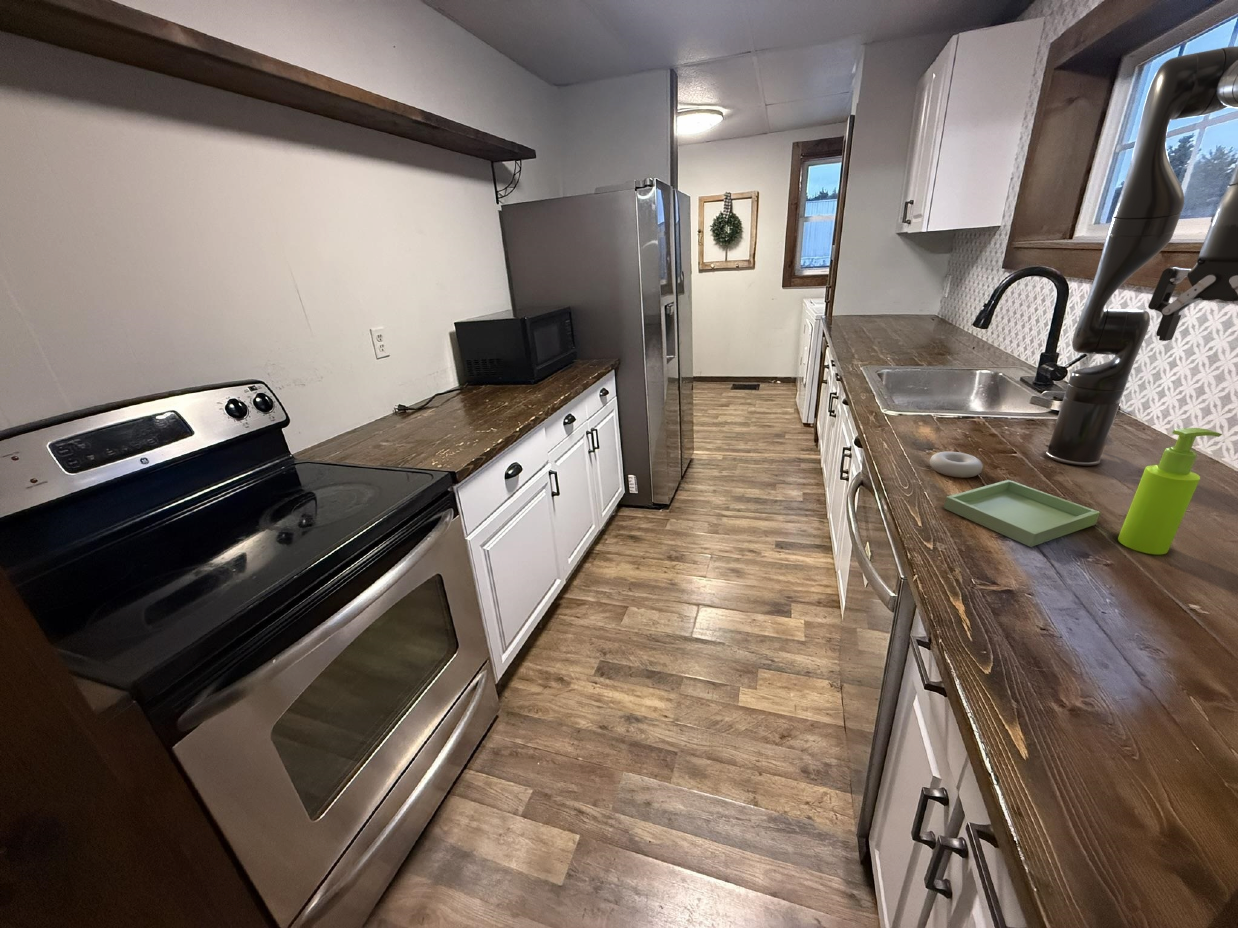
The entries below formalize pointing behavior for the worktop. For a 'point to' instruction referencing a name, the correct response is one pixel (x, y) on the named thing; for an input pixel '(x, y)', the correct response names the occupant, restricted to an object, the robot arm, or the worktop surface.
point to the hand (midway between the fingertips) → (1203, 344)
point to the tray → (1021, 512)
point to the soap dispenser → (1163, 496)
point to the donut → (956, 464)
